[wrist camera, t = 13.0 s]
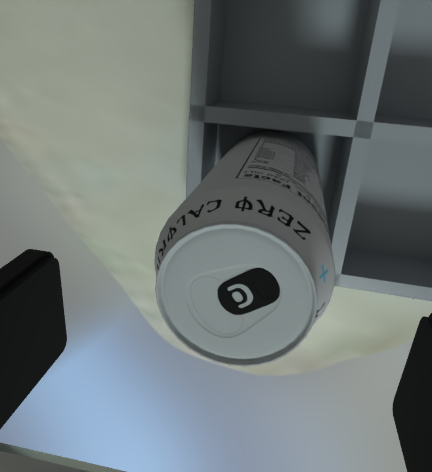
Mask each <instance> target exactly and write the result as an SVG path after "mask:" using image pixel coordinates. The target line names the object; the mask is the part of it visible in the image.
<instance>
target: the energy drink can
mask: <svg viewBox="0 0 432 472" xmlns="http://www.w3.org/2000/svg"><path fill="white" fill-rule="evenodd" d="M155 271H156V288H155V290H156V298H157V304H158V307H159V310H160V313H161V315H162V317H163V319H164V321H165V323H166V324H167V326H168V328H169V329H170V330H171V332H172V333H173V334H174V335H175V336H176V338H177V339H178V340H179V341H181V342H182V343H183V344H184V345H185V346H186V347H188V348H189V349H190V350H192V351H194V352H195V353H197V354H198V355H200V356H202V357H204V358H207V359H209V360H212V361H214V362H218V363H222V364H226V365H232V366H256V365H262V364H266V363H269V362H273V361H275V360H277V359H279V358H282V357H284V356H286V355H287V354H288V353H290V352H291V351H293V350H294V349H295V348H297V347H298V346H299V344H300V343H301V342H302V341H303V340H304V339H305V338H306V336H307V335H308V333H309V331H310V329H311V327H312V326H313V324H314V323H315V322H316V321H317V320H318V319H319V318H320V316H321V315H322V314H323V312H324V310H325V309H326V307H327V305H328V303H329V301H330V298H331V295H332V291H333V288H334V282H335V264H334V259H333V253H332V247H331V241H330V235H329V229H328V223H327V217H326V211H325V205H324V199H323V193H322V188H321V182H320V176H319V170H318V165H317V163H316V160H315V158H314V156H313V154H312V153H311V151H310V150H309V149H308V148H307V147H306V146H305V145H304V144H303V143H302V142H301V141H300V140H298V139H297V138H295V137H294V136H292V135H289V134H286V133H284V132H279V131H260V132H256V133H252V134H250V135H248V136H246V137H244V138H242V139H241V140H239V141H238V142H237V143H235V145H234V146H233V147H232V148H231V149H230V150H229V151H228V152H227V153H226V154H225V156H224V157H223V158H222V159H221V160H220V161H219V162H218V164H217V165H216V166H215V167H214V168H213V169H212V170H211V171H210V173H209V174H208V175H207V176H206V177H205V178H204V179H203V180H202V182H201V183H200V184H199V185H198V186H197V187H196V188H195V189H194V191H193V192H192V193H191V194H190V195H189V196H188V197H187V198H186V200H185V201H184V202H183V203H182V204H181V205H180V206H179V207H178V209H177V210H176V211H175V212H174V213H173V214H172V215H171V216H170V218H169V219H168V220H167V222H166V224H165V226H164V227H163V229H162V231H161V233H160V236H159V239H158V242H157V245H156V252H155Z"/></svg>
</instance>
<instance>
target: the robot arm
mask: <svg viewBox="0 0 432 472" xmlns="http://www.w3.org/2000/svg"><path fill="white" fill-rule="evenodd" d="M66 342H67V335H66V325H65V316H64V307H63V297H62V287H61V278H60V268H59V262H58V260H57V259H56V258H54V256H53V254H52V253H51V252H46V251H40V250H33V249H28V250H26V251H25V252H23V253H22V254H20V255H19V256H18V257H16V258H15V259H14V260H12V261H10V262H9V263H8V264H6V265H5V266H3V267H2V268H1V269H0V429H1V428H2V426H3V425H4V424H5V423H6V422H7V420H8V419H9V418H10V416H11V415H12V414H13V413H14V412H15V410H16V409H17V408H18V407H19V405H20V404H21V403H22V402H23V400H24V399H25V398H26V397H27V395H28V394H29V393H30V392H31V391H32V389H33V388H34V387H35V386H36V384H37V383H38V382H39V381H40V379H41V378H42V377H43V376H44V374H45V373H46V372H47V371H48V369H49V368H50V367H51V366H52V365H53V363H54V362H55V360H57V358H58V357H59V356H60V355H61V353H62V352H63V350H64V348H65V346H66ZM393 417H394V421H395V425H396V429H397V433H398V436H399V440H400V444H401V448H402V452H403V456H404V460H405V464H406V468H407V472H432V313H431V314H430V316H429V317H422V318H421V320H420V322H419V325H418V328H417V331H416V334H415V337H414V340H413V343H412V347H411V349H410V353H409V356H408V359H407V362H406V365H405V368H404V371H403V374H402V377H401V380H400V383H399V386H398V389H397V392H396V395H395V398H394V401H393ZM0 472H125V471H121V470H117V469H112V468H108V467H104V466H99V465H95V464H91V463H87V462H82V461H78V460H74V459H70V458H65V457H61V456H56V455H52V454H47V453H43V452H39V451H34V450H30V449H26V448H21V447H17V446H12V445H8V444H4V443H0Z"/></svg>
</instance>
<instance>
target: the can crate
mask: <svg viewBox="0 0 432 472" xmlns="http://www.w3.org/2000/svg"><path fill="white" fill-rule="evenodd" d="M260 131H279V132H284V133H286V134H289V135H292V136H294V137H295V138H297V139H298V140H300V141H301V142H302V143H303V144H304V145H305V146H306V147H307V148H308V149H309V150H310V151H311V153H312V154H313V156H314V158H315V160H316V163H317V165H318V170H319V176H320V182H321V188H322V193H323V199H324V205H325V211H326V217H327V223H328V229H329V235H330V241H331V247H332V253H333V259H334V264H335V282H334V286H338V287H344V288H350V289H357V290H363V291H370V292H376V293H383V294H389V295H395V296H402V297H408V298H415V299H421V300H427V301H432V0H195V4H194V27H193V49H192V72H191V95H190V118H189V140H188V163H187V186H186V198H187V197H188V196H189V195H190V194H191V193H192V192H193V191H194V189H195V188H196V187H197V186H198V185H199V184H200V183H201V182H202V180H203V179H204V178H205V177H206V176H207V175H208V174H209V173H210V171H211V170H212V169H213V168H214V167H215V166H216V165H217V164H218V162H219V161H220V160H221V159H222V158H223V157H224V156H225V154H226V153H227V152H228V151H229V150H230V149H231V148H232V147H233V146H234V145H235V143H237V142H238V141H239V140H241V139H242V138H244V137H246V136H248V135H250V134H252V133H256V132H260Z"/></svg>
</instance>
